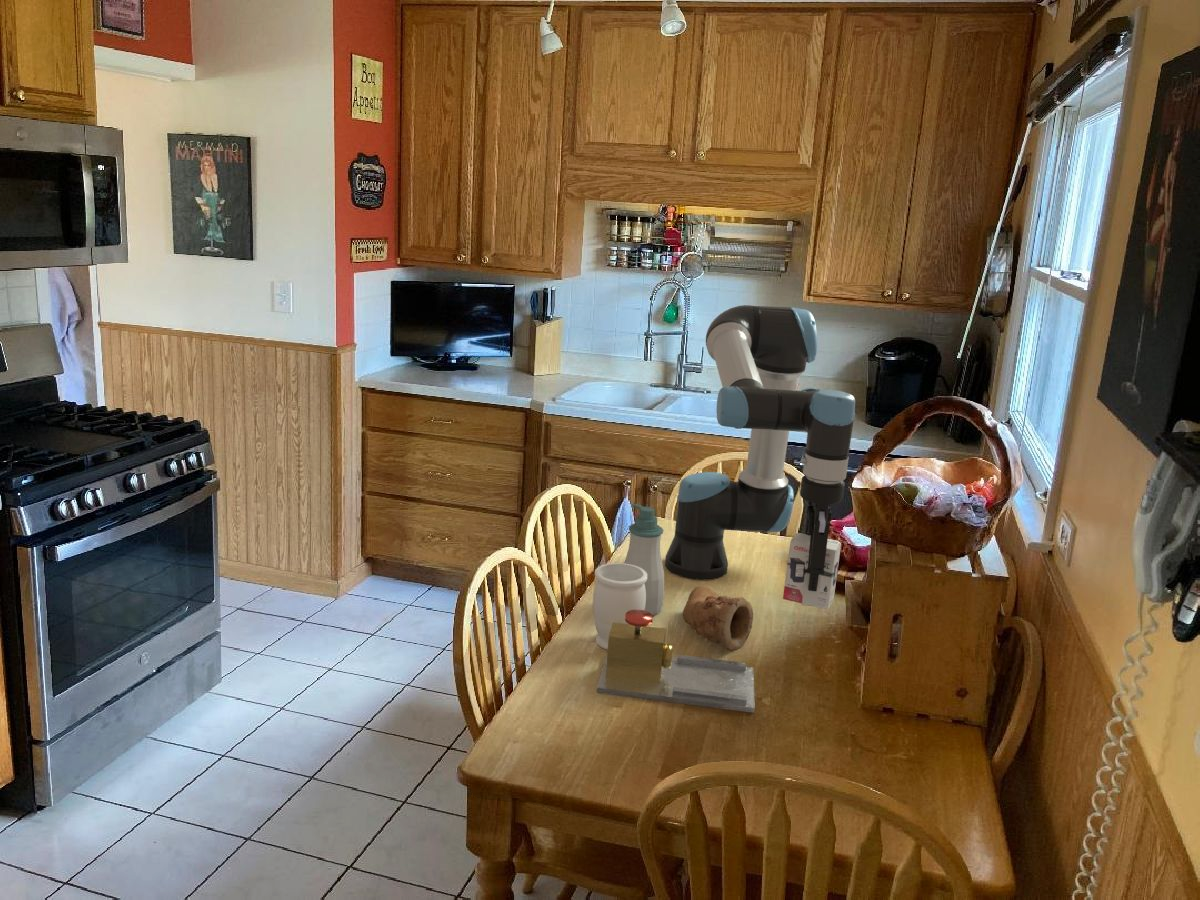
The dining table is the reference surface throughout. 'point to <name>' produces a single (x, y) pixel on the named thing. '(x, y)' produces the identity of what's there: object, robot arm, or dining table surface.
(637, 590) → the jar
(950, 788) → the dining table surface
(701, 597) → the clay pipe
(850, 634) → the dining table surface
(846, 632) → the dining table surface
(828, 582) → the ink box
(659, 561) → the soap bottle
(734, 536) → the dining table surface
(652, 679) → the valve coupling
